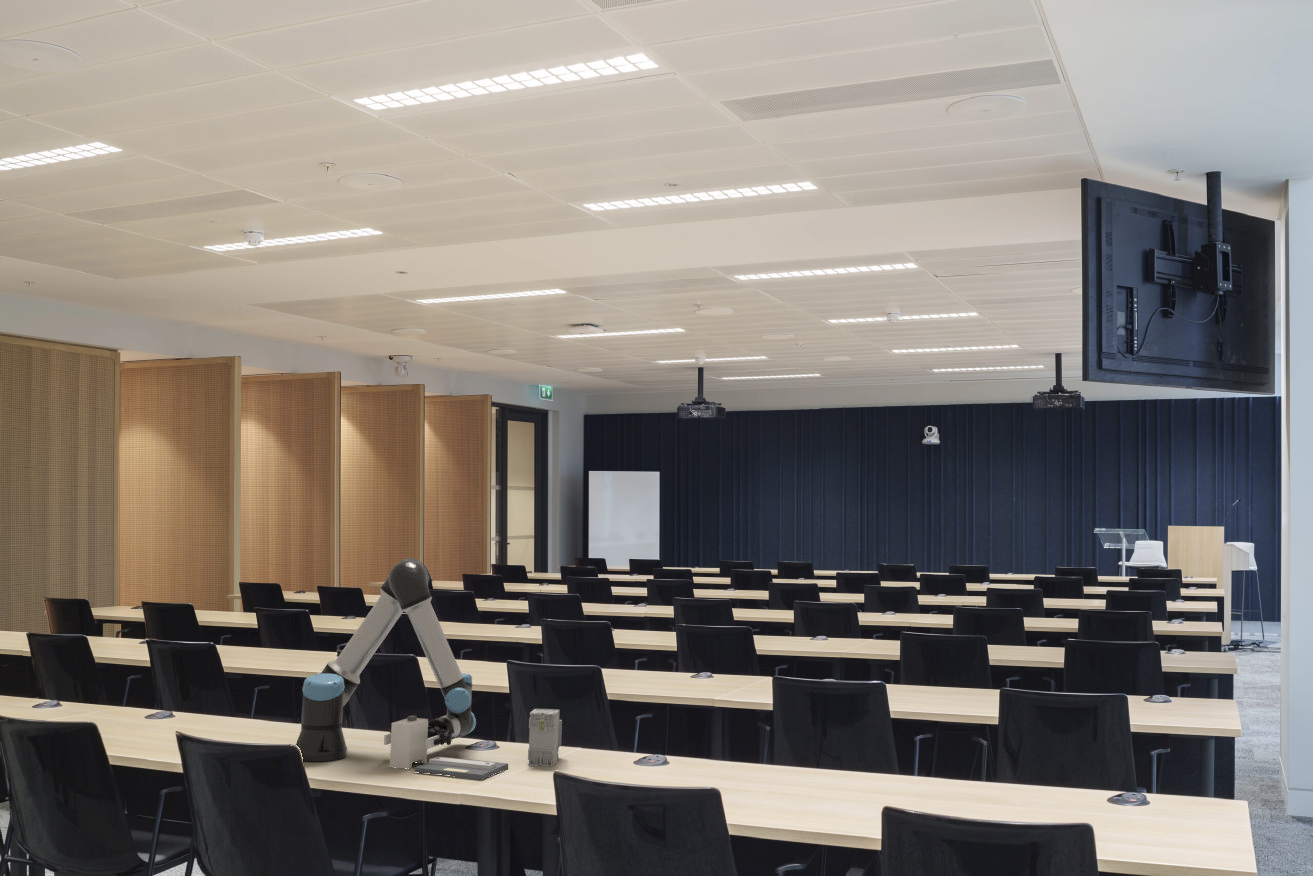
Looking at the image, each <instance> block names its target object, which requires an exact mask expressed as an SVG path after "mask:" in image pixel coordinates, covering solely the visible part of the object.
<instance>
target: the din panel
mask: <svg viewBox="0 0 1313 876" xmlns="http://www.w3.org/2000/svg"><path fill="white" fill-rule="evenodd" d="M428 761H429V762H426V763H424V764H419V765H418V766H416V767H414V773H415V772H419V773H430V774H442V775H450V776H455V777H462V778H461V779H464V778H469V779H468V780H473V779H477V780H476V781H484V780H485V778H486V779H488V778H490V777H489V776H491V775H493V774H495V773H497V774H499V773H498V772H500V771H502V772H504V771H506V770H509V763H508V762H498V761H489V760H481V759H480V760H479V759H469V758H462V757H461V758H459V757H450V756H435V757H432V758H429V760H428ZM505 769H506V770H505ZM503 770H504V771H503ZM419 773H418V774H419ZM500 773H501V772H500ZM495 775H496V774H495ZM493 776H494V775H493ZM455 777H454V778H455ZM487 777H488V778H487ZM491 777H492V776H491ZM483 779H484V780H483Z"/></svg>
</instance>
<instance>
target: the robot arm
mask: <svg viewBox="0 0 1313 876" xmlns="http://www.w3.org/2000/svg"><path fill="white" fill-rule="evenodd" d="M430 580H431V579H430V571H429V569H428V567H427V566H426V565H425V564H424V563H422V561H419V560H418V559H414V558H407V559H403V560H401V561H400V562H398V563H397V564H395V565H394V566H393V567H392V569H390V571H389V574H388V576H387V578H386V579H385V581H384V582H383V583H382V585H381V587H380V588H379V589H380V596H379V598H378V599H377V601H376V602H375V603H374V605H373V607H372V608H371V609H370V611H369V612H368V614H367V615H366V616H365V618H364V619H363V621H362V622H361V623H360V625H359V627H358V628H357V629H356V631H355V632H354V634H352V637H350V639H349V640H348V641H347V644H346V645H345V647H344V648H343V649H342V650H341V652H340V654H339V655H338V657H337V658H336V659H335V660H332V661H328V662H327V664H326V665H325V666H324V668H323V669H322V670H321V672H320V673H316V674H313V675H309V676H307V677H306V678H305V679H304V681H303V686H302V689H301V690H302V704H301V706H302V707H301V724H300V725H301V727H300V733H299V735H298V737H297V741H296V743H295V746H296V745H297V746H298V747H299V748H300V750H301V753H302V757H303V760H304V761H303V762H317V763H318V762H329V761H330V762H331V761H332V762H333V761H337V760H338V761H339V760H341V759H344V758H346V757H347V755H348V746H347V744H346V740H345V739H346V738H345V736H344V732H343V711H344V709H343V708H344V706H346V704H347V703H348V702H349V701H350V698H351V697H352V695H353V693H354V692H355V691H356V689H357V688H358V686H359V684H360V683H361V679H360V675H361V673H362V672H363V670H364V669H365V667H366V666H367V665H368V663H369V662H370V660H371V659H372V657H373V656H374V655H375V653H376V651H377V650H378V648H380V646H381V644H382V643H383V642H384V640H385V639H386V638H387V636H388V634H389V633H390V632H391V630H392V628H393V627H394V626H395V624H396V622H397V621H398V620H399V618H400V617H401V616H402V614H403V613H404V612H405V613H406V614H407V617H408V619H409V620H410V623H411V625H412V628H413V629H414V632H415V634H416V636H417V639H418V641H419V643H420V646H421V649H422V650H423V652H424V655H425V657H426V659H427V661H428V664H429V667H430V668H431V670H432V673H433V675H434V677H435V680H436V682H437V685H438V687H439V688H440V691H441V694H442V696H443V698H444V704H445V706H446V715H442V716H440V717H437V718H434V719H432V720H430V721H428V737H427V739H426V745H425V749H427V750H429V749H432V748H434V747H437V746H439V745H440V746H444V744H446V745H447V746H451V744H452V741H453V740H454V739H457V738H458V739H459V738H461V737H465V736H467V735H468V734H470V733H471V732H473V731H474V730H475V728H476V725H477V718H476V716H475V714H474V713H473V712H472V693H473V677H472V674H469V673H466V672H465V673H463V672H461V670H460V668H459V665H458V663H457V660H456V658H455V656H454V653H453V651H452V649H451V647H450V645H449V642H448V640H447V637H446V635H445V633H444V630H443V628H442V626H441V624H440V622H439V619H438V617H437V615H436V612H435V610H434V608H433V605H432V603H431V601H432V599H433V597H432V594H431V591H430V590H429V584H430ZM383 736H384V737H383V738H384V739H383V745H384V746H385V745H386V746H387V745H389V744H390V745H391V729H390V730H389V733H387V734H384V735H383Z"/></svg>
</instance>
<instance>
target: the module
mask: <svg viewBox="0 0 1313 876" xmlns="http://www.w3.org/2000/svg"><path fill="white" fill-rule="evenodd" d="M417 716H418V715H409V716H407V718H403V719H400V720H397V721H394V722H391V729H390V730H391V743H390V753H389V754H390V756H389V757H390V758H389V768H390V767H396V768H395V769H399V768H407V769H406V770H409V769H408V768H411V767H412V768H413V764H414V763H413V762H417V763H416V764H418V763H424V762H426V763H427V761H428V760H427V753H428V752H427V751H428V749H425V745H426V739H427V737H428V724H429V719H428V718H420V717H419V718H418V717H417ZM424 764H425V763H424ZM412 768H411V769H412Z"/></svg>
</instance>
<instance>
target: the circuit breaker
mask: <svg viewBox="0 0 1313 876" xmlns="http://www.w3.org/2000/svg"><path fill="white" fill-rule="evenodd" d="M560 711H561V710H560V709H553V708H551V709H550V708H534V709H533V710H532V711H530V712H529V719H528V721H529V722H528V728H529V734H528V735H529V736H528V737H529V739H528V750H527V752H528V753H527V760H528V763H527V766H533V765H542V766H541V767H554V766H555V765H556V764H555V763H557V762H558V761H559V748H560V747H561V746H562V733H563V731H562V730H563V720H562V719H560V718H561V717H560V714H561V713H560ZM554 764H555V765H554Z"/></svg>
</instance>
